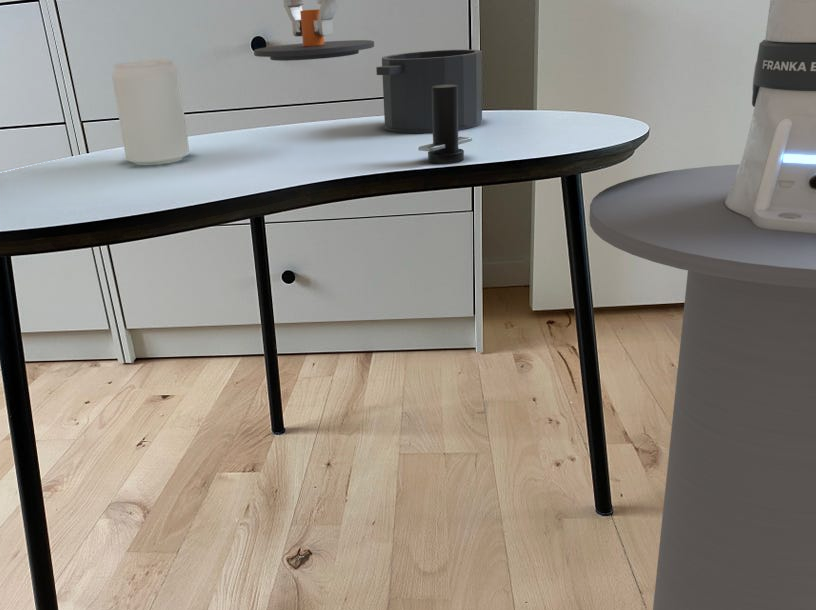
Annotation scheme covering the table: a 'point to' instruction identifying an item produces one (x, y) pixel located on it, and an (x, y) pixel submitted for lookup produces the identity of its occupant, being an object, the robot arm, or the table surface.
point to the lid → (313, 44)
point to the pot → (430, 87)
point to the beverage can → (150, 111)
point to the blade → (445, 127)
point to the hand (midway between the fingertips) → (312, 35)
